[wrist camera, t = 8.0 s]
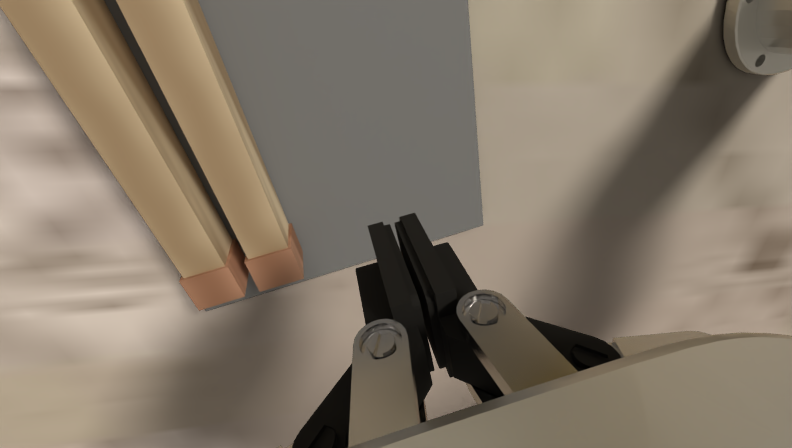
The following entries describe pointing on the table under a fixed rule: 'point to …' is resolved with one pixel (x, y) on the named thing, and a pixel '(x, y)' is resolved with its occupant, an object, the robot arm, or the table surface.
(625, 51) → the table surface
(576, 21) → the table surface
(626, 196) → the table surface
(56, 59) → the tongs fixed
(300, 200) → the mat
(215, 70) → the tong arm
